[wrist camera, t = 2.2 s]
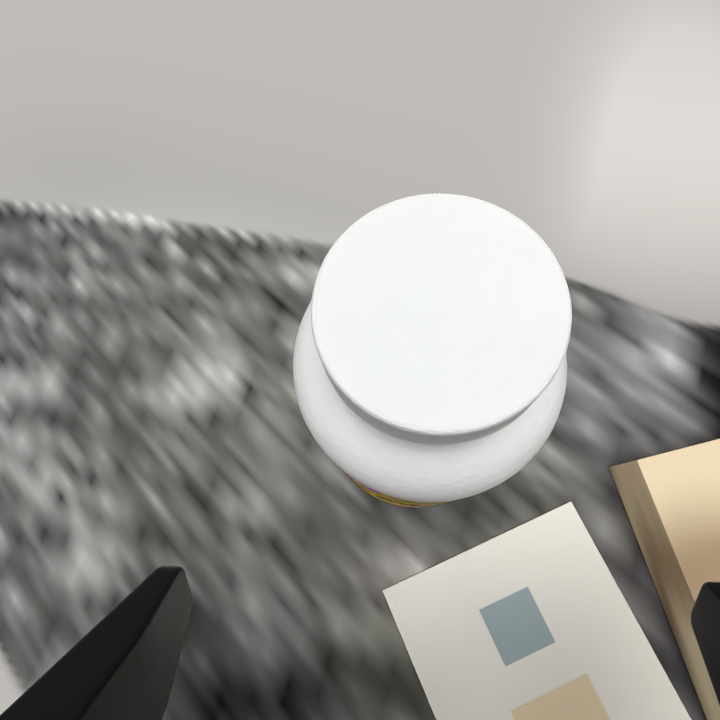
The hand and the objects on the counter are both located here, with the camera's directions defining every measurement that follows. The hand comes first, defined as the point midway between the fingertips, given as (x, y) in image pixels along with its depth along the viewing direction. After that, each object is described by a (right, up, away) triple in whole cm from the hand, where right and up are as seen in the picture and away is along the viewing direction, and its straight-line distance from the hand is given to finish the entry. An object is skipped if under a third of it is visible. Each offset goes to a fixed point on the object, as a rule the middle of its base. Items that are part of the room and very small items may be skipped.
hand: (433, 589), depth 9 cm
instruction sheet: (+5, -7, +9) cm, 13 cm away
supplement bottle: (+1, +1, +13) cm, 13 cm away
